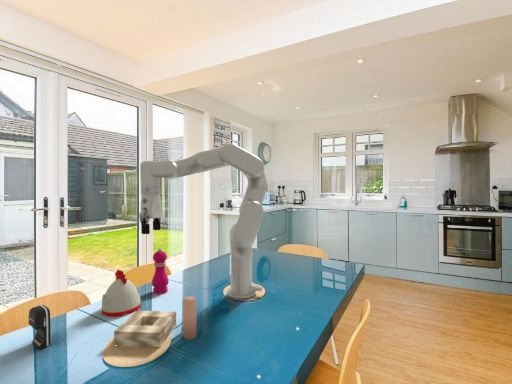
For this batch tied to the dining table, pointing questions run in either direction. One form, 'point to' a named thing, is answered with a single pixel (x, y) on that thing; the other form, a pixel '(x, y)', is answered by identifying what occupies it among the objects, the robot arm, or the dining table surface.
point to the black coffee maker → (40, 325)
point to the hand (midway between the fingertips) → (151, 231)
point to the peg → (189, 317)
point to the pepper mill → (160, 273)
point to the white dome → (120, 297)
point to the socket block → (145, 329)
